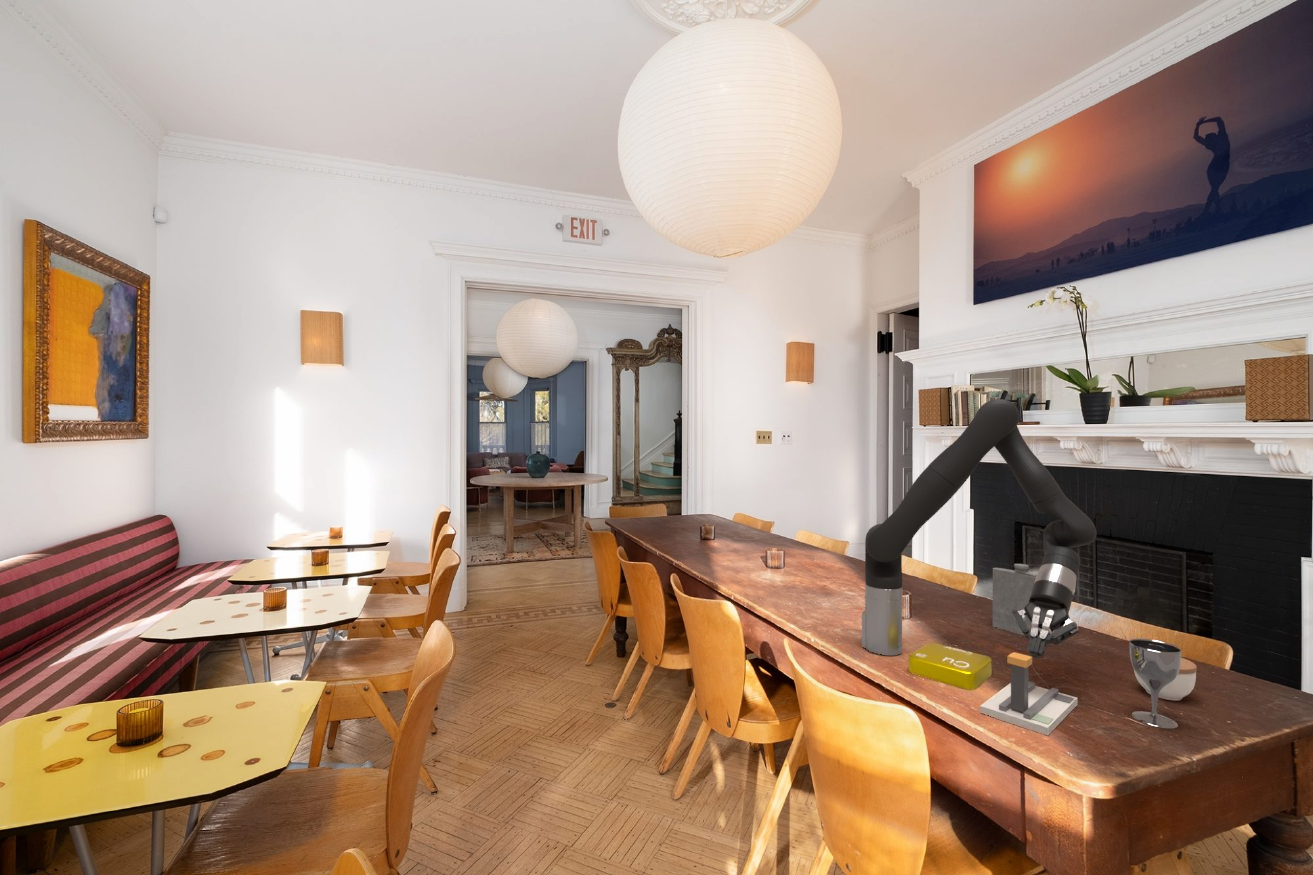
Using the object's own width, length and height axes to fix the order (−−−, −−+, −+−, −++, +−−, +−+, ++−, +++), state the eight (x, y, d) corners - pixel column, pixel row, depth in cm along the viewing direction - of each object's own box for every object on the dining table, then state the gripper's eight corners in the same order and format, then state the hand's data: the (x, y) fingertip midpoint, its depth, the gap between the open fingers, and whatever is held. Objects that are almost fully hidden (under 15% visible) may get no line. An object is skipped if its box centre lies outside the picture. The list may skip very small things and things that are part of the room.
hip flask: (990, 626, 177) (990, 559, 177) (998, 624, 179) (999, 558, 179) (1044, 642, 163) (1044, 570, 163) (1053, 640, 164) (1053, 569, 164)
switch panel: (980, 713, 120) (980, 700, 120) (1014, 686, 133) (1014, 675, 133) (1047, 735, 111) (1047, 722, 111) (1077, 704, 124) (1077, 693, 124)
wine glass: (1118, 711, 122) (1119, 638, 122) (1154, 709, 122) (1154, 638, 122) (1154, 730, 114) (1154, 652, 114) (1192, 728, 114) (1192, 651, 114)
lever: (1007, 708, 118) (1007, 656, 119) (1013, 703, 121) (1013, 652, 121) (1026, 714, 116) (1026, 660, 116) (1031, 709, 118) (1032, 656, 118)
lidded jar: (1120, 683, 135) (1120, 643, 135) (1168, 684, 135) (1168, 644, 135) (1158, 704, 125) (1159, 660, 125) (1210, 706, 124) (1211, 661, 124)
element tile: (994, 675, 141) (994, 655, 141) (972, 693, 131) (972, 672, 131) (929, 657, 152) (930, 639, 152) (905, 673, 141) (905, 654, 141)
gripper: (1016, 573, 136) (995, 637, 128) (1085, 585, 126) (1067, 655, 118) (1024, 592, 139) (1004, 656, 131) (1092, 605, 129) (1074, 674, 121)
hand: (1034, 655), depth 124 cm, fingers closed
